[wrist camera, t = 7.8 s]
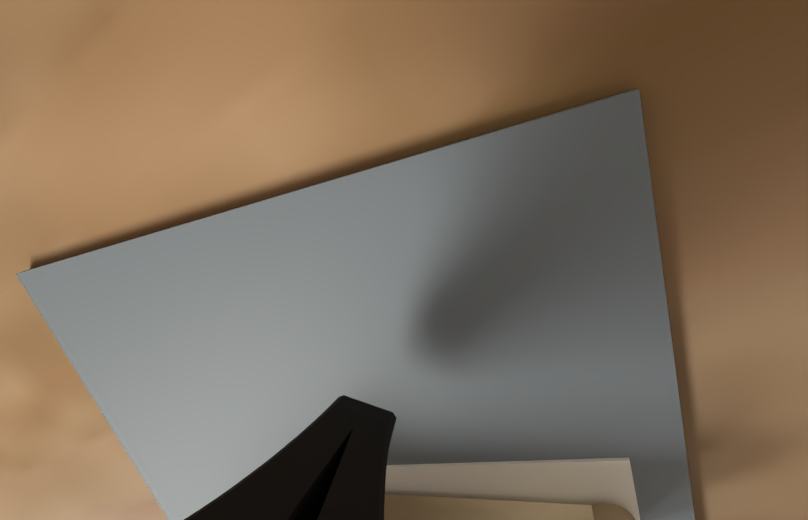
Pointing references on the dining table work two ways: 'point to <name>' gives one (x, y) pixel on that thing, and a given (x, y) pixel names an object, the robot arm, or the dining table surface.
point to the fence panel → (494, 509)
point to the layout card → (404, 324)
